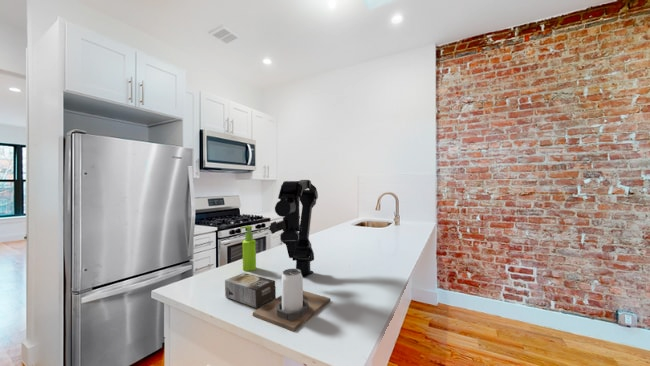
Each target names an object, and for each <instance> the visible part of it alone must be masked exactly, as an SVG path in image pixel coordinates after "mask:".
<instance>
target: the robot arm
mask: <svg viewBox="0 0 650 366" xmlns="http://www.w3.org/2000/svg"><path fill="white" fill-rule="evenodd" d="M277 198H278V199H279V200H278V201H277V202H276V203H275V206H274V212H275V213H276V214H277V216H278V217H283V218H282V220H280V221H276V220H275V221H273V222H271V223H270V225H268V227H269V229H268V230H269V232H270V233H271V234H275V233H277V232H279V231H282V233H281V234H280V241H281V242H282V243H284V244H285V247H286V250H287V254H288V258H289V259H292V261H293V262H296V263H295V269H299V270H301V274H302V278H306V277H308V276H310V275H311V274H314V270H311V262H312V261H313V262H314V260H315V253H314V250H313V248H312V242H311V241H310V239H309V238H310V230H311V229H310V228H311V222H312V221H311V219H312V212H313V211H312V210H313V207H314V206H316V204H317V200H318V198H319V195H318V190H317V188H316V186H315V185H313V184H312V181H311V180H309V179H300V180H293V181H292V180H287V181H286V180H284V181H283V183H282V184H281V186H280V189H279V193H278V197H277ZM300 203H301V214H300Z"/></svg>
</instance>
